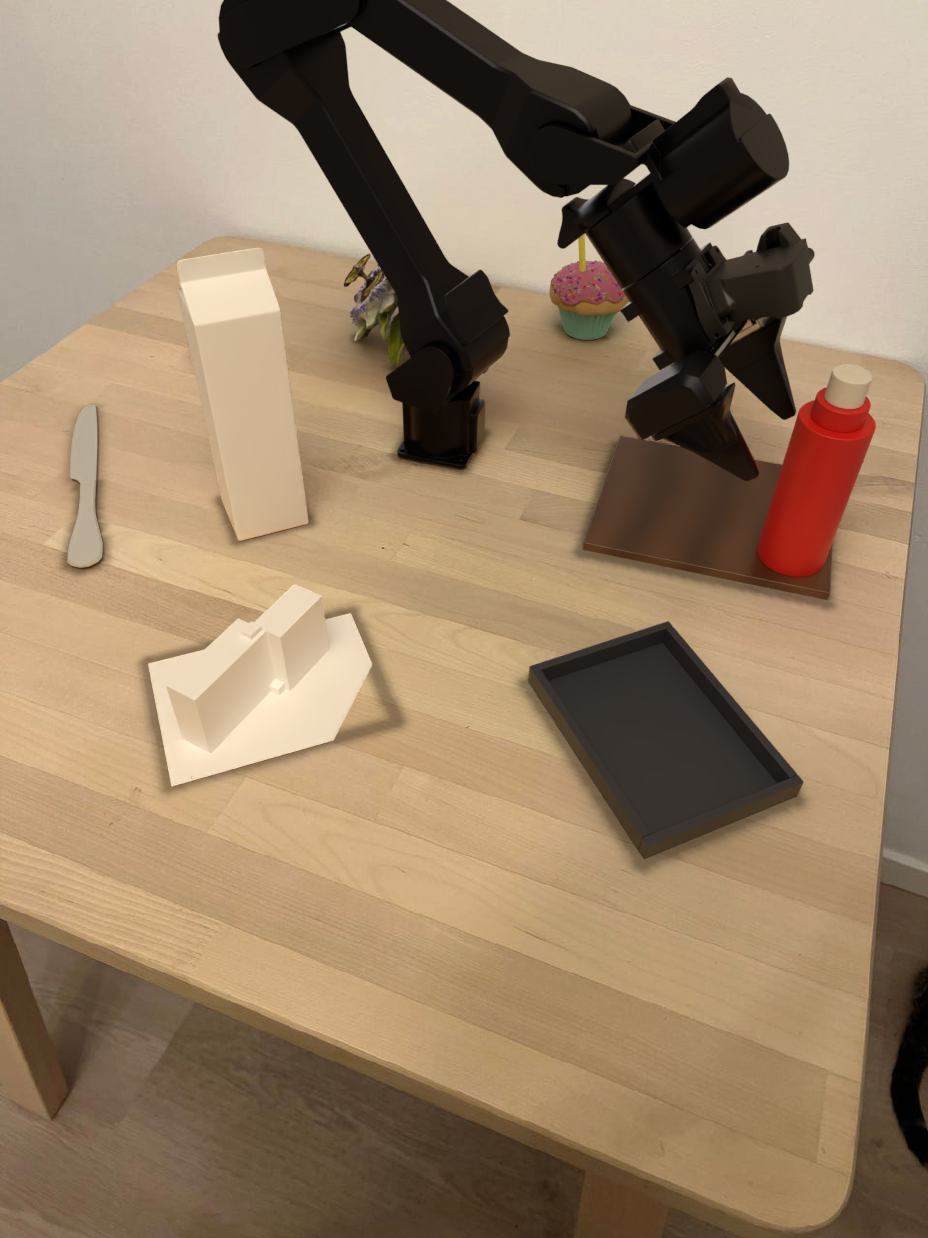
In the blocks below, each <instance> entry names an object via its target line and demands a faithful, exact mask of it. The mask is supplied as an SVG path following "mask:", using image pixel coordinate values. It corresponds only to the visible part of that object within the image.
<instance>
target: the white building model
mask: <svg viewBox="0 0 928 1238" xmlns="http://www.w3.org/2000/svg"><path fill="white" fill-rule="evenodd" d="M323 599H324V598H323V595H321V594H318V593H316V592H314V591H312V590H310V589H307V588H305V587H304V586H300V585H298V584H296V583H294V584H292V586H290V588H288V589H287V590H286V591H285V592H284V593H283V594H282V595H281V596H280V597H279V598H278V599H277V600H276V601H275V602H274V603H273V604H271V606H270V607H268V609H266V610H265V611H264V612H263V613H262V614H261V615H260V616H259V617H258V618H257V619H256V620H254V621H249V622H247V621H245V620H243V619H241V618H239V617H238V618H237V619H236V620H234V621H233V622H232V623H231V624H230V625H228V627H227V628H226V629H225V630H224V631H223V632H221V633H220V635H218V636H217V637H216V638H215V639H214V640H213V641H212V642H211V643H209V645H208V646H207V647H205V648H204V649H201V650H197V651H193V652H190V653H185V654H181V655H177V656H172V657H169V658H166V659H161V660H157V661H152V662H148V663H147V667H148V671H149V677H150V682H151V687H152V692H153V697H154V702H155V707H156V713H157V718H158V724H159V728H160V734H161V738H162V744H163V748H164V754H165V760H166V765H167V770H168V776H169V781H170V785H171V787H175V786H179V785H182V784H186V783H190V782H193V781H197V780H200V779H203V778H206V777H210V776H214V775H218V774H221V773H224V772H228V771H232V770H234V769H235V770H236V769H238V768H241V767H245V766H249V765H253V764H257V763H259V762H263V761H267V760H269V759H273V758H277V757H280V756H284V755H287V754H290V753H295V752H298V751H301V750H305V749H309V748H312V747H315V746H319V745H322V744H326V743H329V742H334V741H335V739H336V737H337V735H338V733H339V731H340V729H341V727H342V724H343V723H344V721H345V719H346V718H347V715H348V714H349V711H350V709H351V707H352V706H353V704H354V701H355V699H356V697H357V696H358V694H359V691H360V690H361V687H362V686H363V684H364V682H365V680H366V679H367V676H368V675H369V672H370V670H371V669H372V666H373V665H374V664H373V662H372V660H371V658H370V655H369V652H368V650H367V648H366V645H365V643H364V641H363V638H362V636H361V634H360V631H359V629H358V627H357V626H358V625H356V622H355V619H354V617H353V615H352V613H351V612H350V613H346V614H341V615H338V616H333V617H329V618H326V615H325V608H324V600H323Z"/></svg>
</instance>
